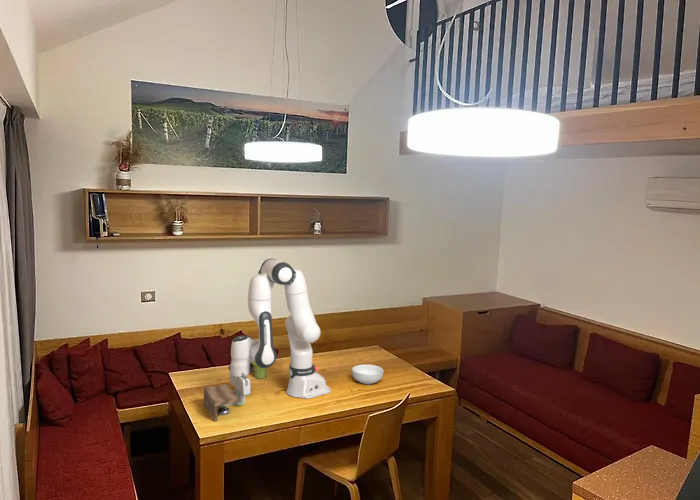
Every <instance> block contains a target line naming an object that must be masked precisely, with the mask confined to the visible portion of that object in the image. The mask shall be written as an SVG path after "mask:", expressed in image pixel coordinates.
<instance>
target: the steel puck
mask: <svg viewBox="0 0 700 500" xmlns="http://www.w3.org/2000/svg"><path fill="white" fill-rule="evenodd" d="M229 414H230V408H229V406H224V407H218V408H217V415H219V416H229Z"/></svg>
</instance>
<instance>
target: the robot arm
mask: <svg viewBox="0 0 700 500" xmlns="http://www.w3.org/2000/svg"><path fill="white" fill-rule="evenodd" d="M275 284H276V285H282V286H283V288H284V293H285V294H284V295H285V299H286V305H287V309H288V312H289V314H290V315H288V317H286V319H285V323H284V325H285V328H286V331H287V336H288V342H289V349H290V357H289V359H290V360H289V361H290V362H289V366H288V367H289V368H288V375H289V379H288V385H287V388H286V391H285V393H286V394H287V395H289V396H290V397H295V398H300V399H301V398H303V399H308V400H309V399H314V398H315V397H319V396H323V395H326V394H330V393H331V388H330V386H329V385H327V382H326V379H325V377H324V376H323V375H321V374H320V373H319V370H320V367H319V366H318V365H315V364H313V356H314V354H313V351H314V350H313V347H312V343H315V342H316V341H318V339H319V338H320V336H321V327H320V326H319V324H318V323H317V321H316V317H315V314H314V312H313V309H312V306H311V303H310V302H311V301H310V297H309V290H308V285H307V281H306V278H305V275H304V273H303V271H302V270H301V269H300V268H299V269H298V268H293V267H292V266H291V265H290V263H288V262H285V261H284V260H280V259H276V258H267V259H265V260H264V261H263V262H262V263H261V265H260V268H259V270H258V273H257V274H256V275H253V276H252V277H251V279H250V281H249V285H248V294H247V306H248V312H249V314H250V316H252V318H253V320H255V323H256V325H257V329H258V339H253V338H251V337H249V336H248V335H246V334H245V335H241V334H240V335H239V336H235V337H234V338H233V339H232V341H231V347H230V356H231V357H230V358H231V361H230V364H228V366H227V367H228V373H229V382H230V383H231V384H232V386H233V387H234V388H236V389H237V390H238V391H239V392H240V396H239V398H240V400H241V401H243V400H244V396H245V397H247V396H250V395H251V380H250V378H249V377H248V376H249V374H250V373H251V372H250V362H251V361H254V362H255V363H256V364H257V365H258V366H259V367H260V368H267V369H268V368H270V367H272V366H273V365H274V363H275V362H276V360H277V351H276V350H275V348H274V347H275V346H274V336H273V334H274V333H273V320H272V297H273V296H272V292H273V291H272V290H273V288H274V286H275Z"/></svg>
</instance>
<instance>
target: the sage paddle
mask: <svg viewBox="0 0 700 500" xmlns="http://www.w3.org/2000/svg"><path fill="white" fill-rule="evenodd" d="M233 391H234V392H235V393H236V394H237V396H238V397H239V396H240V392H239V391H238V390H237V389H236V388H235V387H234V390H233ZM245 404H246V396H244V400H243V401H241V400H240V402H237V403H232V404H226V405H220V406H218V407H217V409H219V408H221V407H229V406H235V405H236V406H241V405H245Z"/></svg>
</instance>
